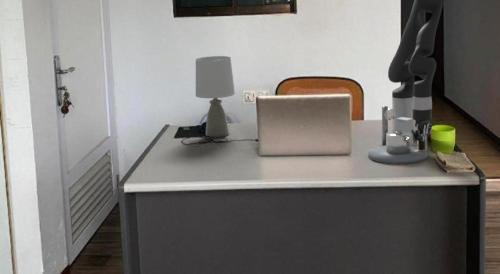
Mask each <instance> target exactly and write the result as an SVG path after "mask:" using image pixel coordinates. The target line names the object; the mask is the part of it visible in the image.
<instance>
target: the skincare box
mask: <svg viewBox="0 0 500 274" xmlns="http://www.w3.org/2000/svg"><path fill="white" fill-rule="evenodd" d="M412 129H414V119H411V118H405V117H400V118H397V131H404V132H409V133H411V146H414V135H413V133H412Z"/></svg>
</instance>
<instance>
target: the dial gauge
mask: <svg viewBox="0 0 500 274" xmlns="http://www.w3.org/2000/svg"><path fill="white" fill-rule="evenodd" d="M395 116H396V113H395V111H394V110H392V108H391V109H390V108H388V106H385V105H382V106H381V127H382V128H381V129H382V130H381V131H382V132H381V133H382V134H381V144H380V145H379V146H386V133H388V132H389V127H388V126H389V121H392V119H394V118H395Z"/></svg>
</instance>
